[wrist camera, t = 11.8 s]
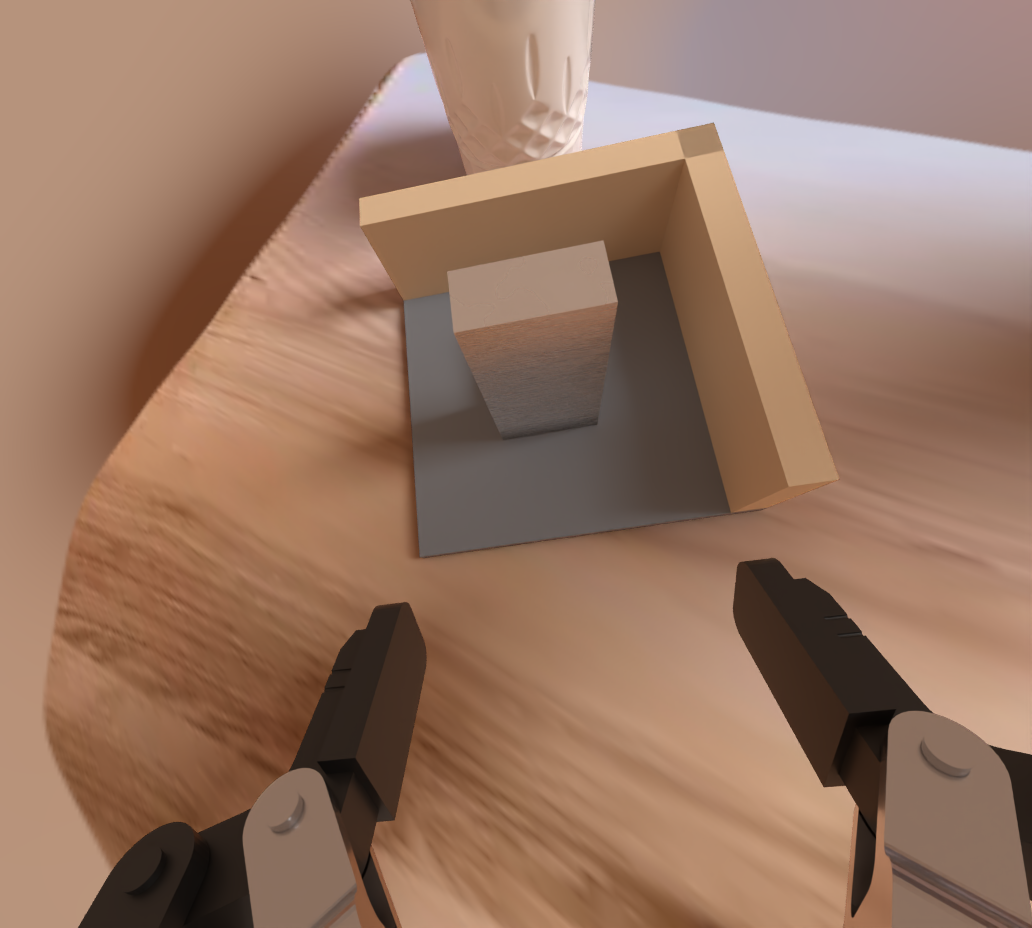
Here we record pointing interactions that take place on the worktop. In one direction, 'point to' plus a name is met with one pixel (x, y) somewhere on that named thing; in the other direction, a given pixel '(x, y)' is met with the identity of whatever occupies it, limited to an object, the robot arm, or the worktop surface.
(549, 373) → the bracket
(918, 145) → the worktop surface
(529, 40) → the white cup
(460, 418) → the corner tray
